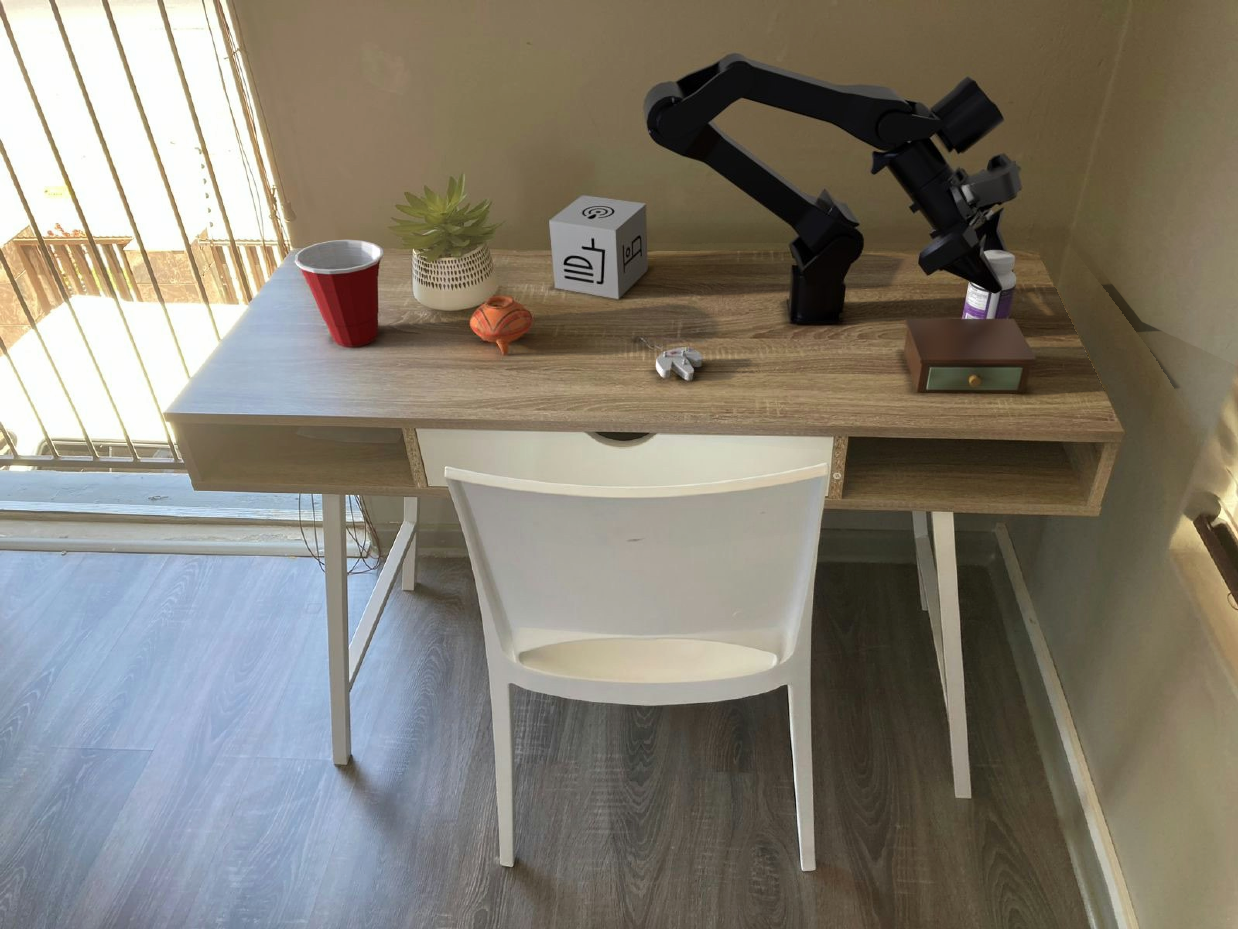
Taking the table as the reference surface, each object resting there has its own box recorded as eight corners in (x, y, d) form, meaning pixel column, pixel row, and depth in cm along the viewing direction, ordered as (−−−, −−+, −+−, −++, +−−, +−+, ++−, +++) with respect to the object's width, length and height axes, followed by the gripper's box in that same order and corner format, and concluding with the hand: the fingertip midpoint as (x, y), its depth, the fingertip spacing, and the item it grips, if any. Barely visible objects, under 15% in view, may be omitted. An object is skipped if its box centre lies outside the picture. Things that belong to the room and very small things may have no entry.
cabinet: (915, 397, 108) (921, 362, 105) (900, 352, 116) (905, 318, 113) (1029, 397, 107) (1038, 362, 104) (1006, 352, 115) (1013, 318, 112)
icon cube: (618, 298, 131) (615, 230, 125) (555, 287, 134) (549, 220, 128) (647, 269, 138) (646, 203, 132) (586, 260, 141) (582, 195, 136)
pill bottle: (999, 317, 122) (1015, 247, 116) (1009, 338, 118) (1026, 265, 112) (956, 317, 122) (970, 246, 117) (964, 337, 118) (979, 265, 112)
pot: (461, 355, 119) (457, 302, 116) (487, 340, 126) (484, 289, 123) (519, 361, 117) (517, 307, 114) (543, 344, 124) (541, 293, 121)
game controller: (681, 388, 111) (681, 368, 110) (608, 359, 118) (607, 340, 116) (710, 368, 115) (710, 349, 113) (638, 340, 121) (637, 322, 119)
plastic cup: (415, 333, 125) (399, 248, 118) (346, 365, 119) (325, 278, 112) (368, 309, 131) (350, 227, 124) (300, 339, 125) (277, 254, 118)
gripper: (964, 163, 101) (1048, 278, 103) (1005, 116, 114) (1080, 219, 116) (883, 221, 110) (962, 326, 111) (930, 171, 122) (1001, 266, 124)
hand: (1004, 282), depth 115 cm, fingers closed on pill bottle, 5 cm apart
